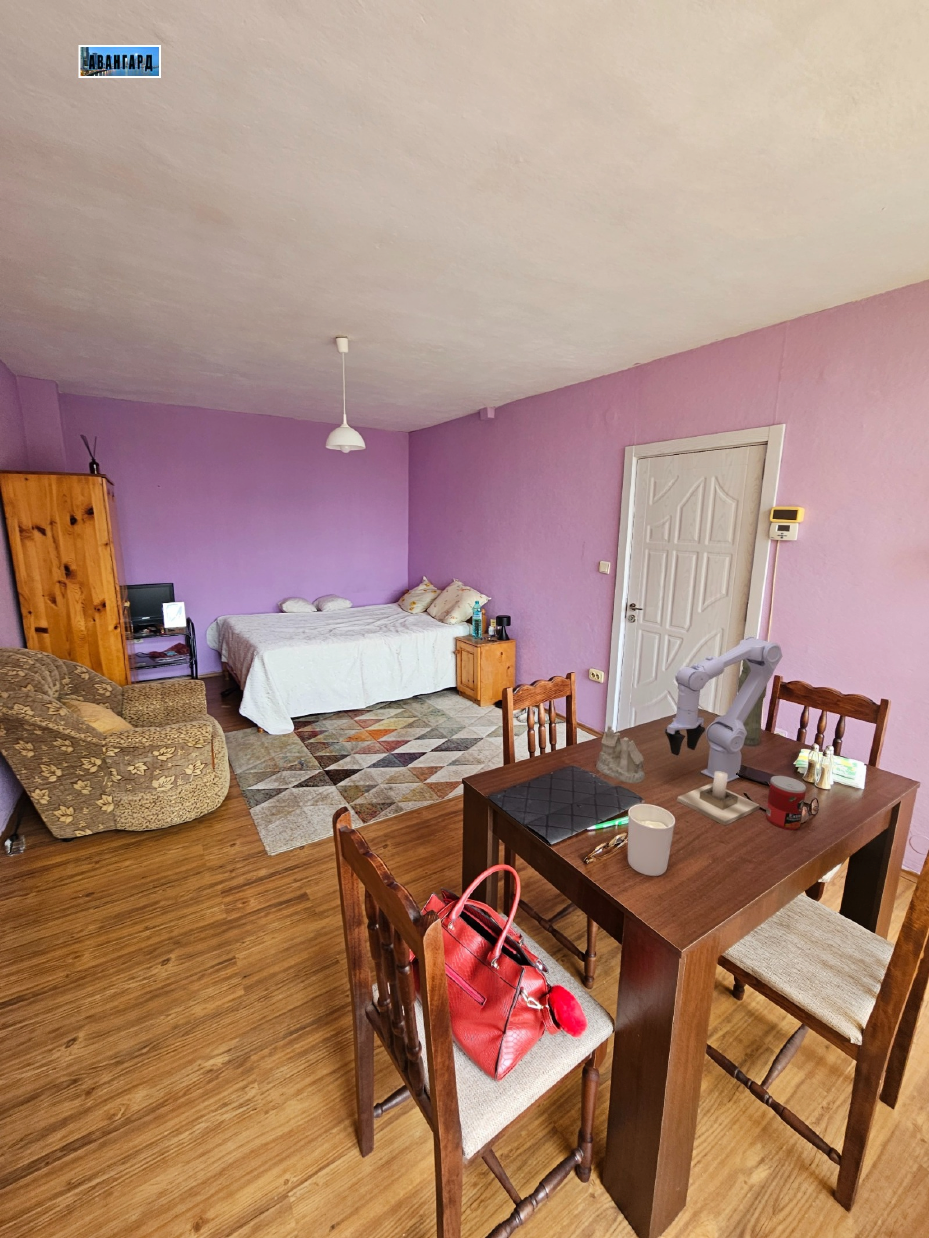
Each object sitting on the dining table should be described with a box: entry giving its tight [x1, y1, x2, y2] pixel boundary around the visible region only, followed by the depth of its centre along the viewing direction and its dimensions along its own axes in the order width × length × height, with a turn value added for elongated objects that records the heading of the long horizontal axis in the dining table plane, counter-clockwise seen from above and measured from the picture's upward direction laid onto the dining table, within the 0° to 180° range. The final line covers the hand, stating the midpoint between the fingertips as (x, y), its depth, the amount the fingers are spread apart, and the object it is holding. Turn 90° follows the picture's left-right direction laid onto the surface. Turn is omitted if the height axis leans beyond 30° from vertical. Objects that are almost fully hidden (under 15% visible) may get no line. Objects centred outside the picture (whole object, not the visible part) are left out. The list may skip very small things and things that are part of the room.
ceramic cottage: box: [595, 724, 645, 784], centre depth 162 cm, size 16×16×15 cm
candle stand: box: [676, 782, 760, 827], centre depth 142 cm, size 16×14×3 cm
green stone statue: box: [731, 659, 768, 747], centre depth 183 cm, size 9×12×35 cm
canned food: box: [765, 775, 807, 831], centre depth 134 cm, size 8×8×11 cm
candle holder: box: [627, 803, 676, 877], centre depth 116 cm, size 10×10×12 cm
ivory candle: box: [712, 771, 728, 800], centre depth 141 cm, size 3×3×8 cm
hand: (683, 751), depth 154 cm, fingers open, 7 cm apart
